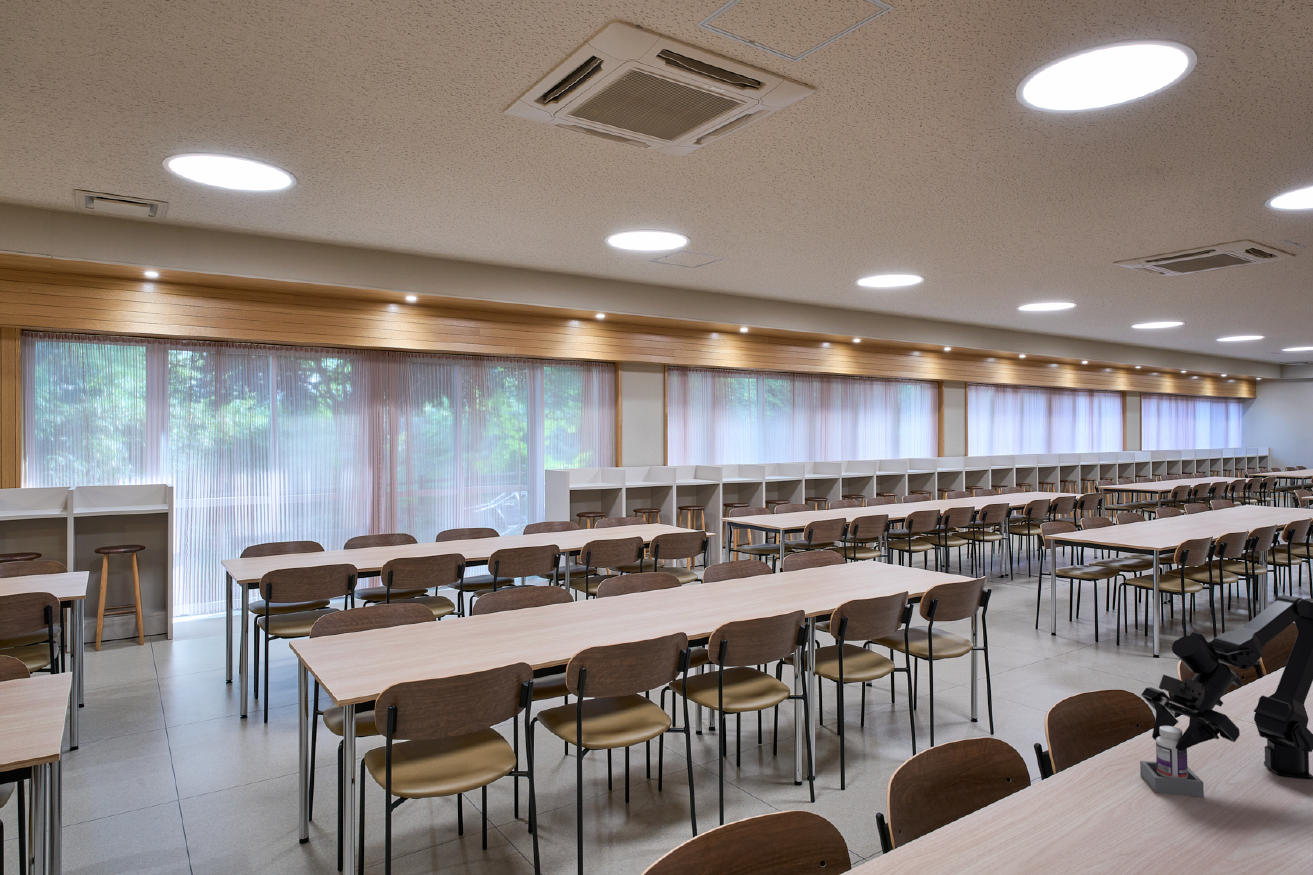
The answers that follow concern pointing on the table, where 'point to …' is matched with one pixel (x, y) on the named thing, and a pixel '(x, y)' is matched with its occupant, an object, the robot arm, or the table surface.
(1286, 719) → the robot arm
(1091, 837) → the table surface
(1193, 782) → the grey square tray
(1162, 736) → the pill bottle
